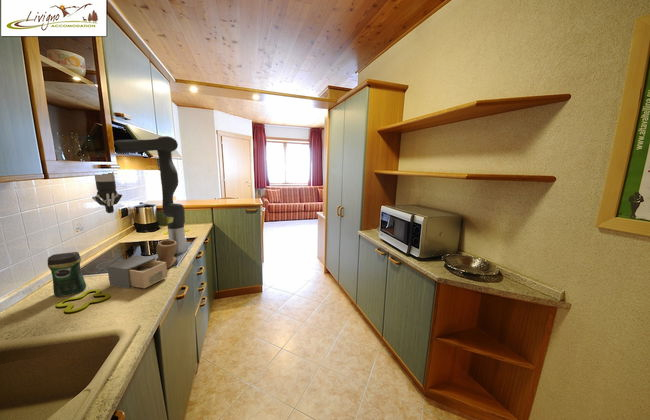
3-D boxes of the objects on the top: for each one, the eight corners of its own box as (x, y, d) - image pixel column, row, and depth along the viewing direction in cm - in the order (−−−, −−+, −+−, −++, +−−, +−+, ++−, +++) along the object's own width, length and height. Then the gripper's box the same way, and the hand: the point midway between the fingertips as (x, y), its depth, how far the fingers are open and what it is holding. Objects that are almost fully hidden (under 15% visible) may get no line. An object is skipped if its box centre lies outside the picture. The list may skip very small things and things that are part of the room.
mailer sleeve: (139, 272, 124) (136, 255, 122) (157, 275, 121) (155, 257, 119) (110, 285, 110) (106, 266, 108) (129, 288, 108) (126, 269, 106)
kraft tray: (137, 271, 123) (135, 257, 121) (167, 276, 118) (166, 262, 117) (112, 282, 111) (109, 267, 110) (144, 288, 107) (142, 272, 105)
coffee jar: (89, 285, 110) (82, 249, 106) (82, 293, 103) (74, 254, 100) (60, 290, 105) (52, 252, 102) (50, 299, 98) (42, 258, 95)
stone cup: (175, 269, 129) (172, 243, 127) (150, 271, 126) (147, 245, 123) (182, 259, 143) (180, 236, 141) (160, 260, 140) (157, 237, 137)
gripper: (95, 181, 112) (101, 215, 115) (124, 180, 125) (128, 211, 128) (84, 180, 114) (90, 214, 117) (114, 179, 126) (118, 210, 130)
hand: (110, 212), depth 122 cm, fingers closed
